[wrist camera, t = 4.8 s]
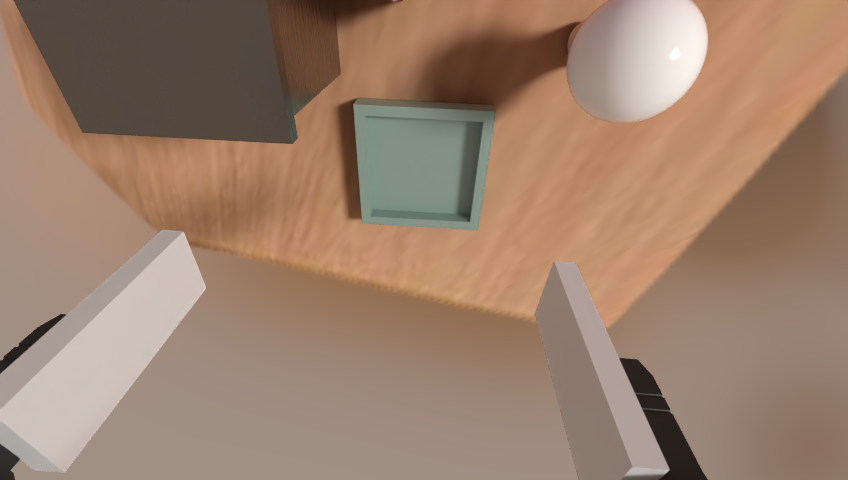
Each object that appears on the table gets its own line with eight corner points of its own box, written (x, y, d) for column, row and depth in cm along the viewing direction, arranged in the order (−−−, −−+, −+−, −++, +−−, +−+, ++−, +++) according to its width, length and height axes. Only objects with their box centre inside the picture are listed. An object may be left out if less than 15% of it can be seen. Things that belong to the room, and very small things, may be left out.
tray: (357, 97, 28) (353, 104, 27) (493, 104, 28) (495, 111, 27) (365, 213, 35) (362, 223, 33) (476, 219, 34) (477, 230, 33)
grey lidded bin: (173, -84, 22) (-59, -138, 12) (336, -76, 22) (243, -125, 12) (217, 75, 28) (82, 132, 17) (349, 82, 28) (292, 143, 17)
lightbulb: (541, 97, 28) (587, 152, 19) (534, 1, 24) (587, 13, 15) (629, 75, 27) (724, 123, 18) (636, -29, 23) (758, -35, 14)
